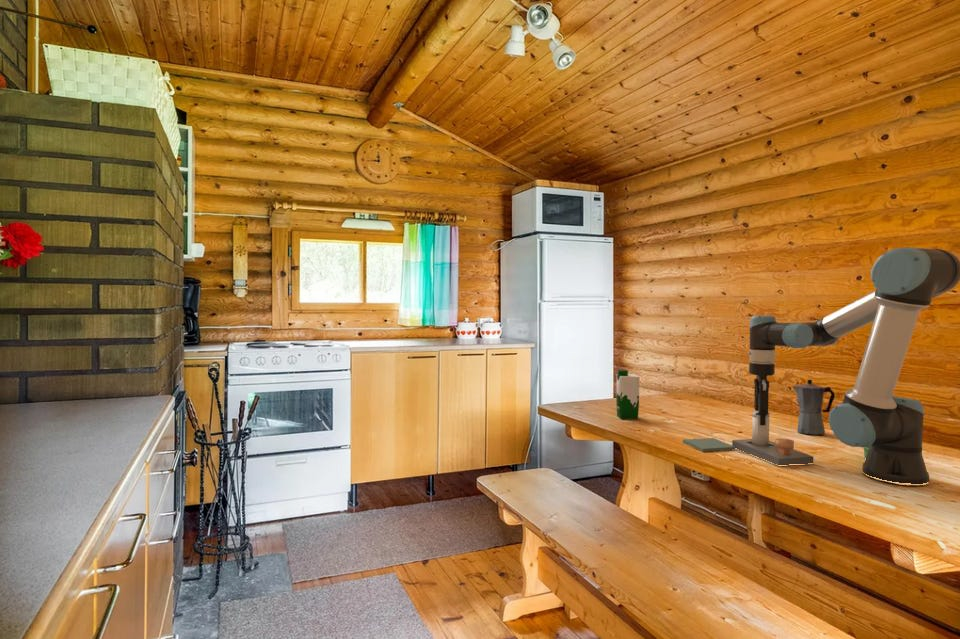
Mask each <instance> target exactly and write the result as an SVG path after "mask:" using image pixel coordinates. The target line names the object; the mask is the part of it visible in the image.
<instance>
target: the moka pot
mask: <svg viewBox="0 0 960 639" xmlns="http://www.w3.org/2000/svg"><path fill="white" fill-rule="evenodd" d="M792 388H793V389H794V391H795V393H796V398H797V404H798V408H799V409H798V410H799V414H798V422H797V433H799V432H800V434H805V435H815V436H816V435H817V436H818V435H819V436H820V435H825V433H826V430H825V426H824V424H825V423H824V419H823V414H822V412H823V413H830V412H831V409H832V406H833V402H834V400H835V396H836V394H835V392H834V391H833V389H832V388H830V386H827V387H825V386H821V385H816V384H813V380H812V379H807V383H806V384H797V385H796V384H795V385H793V386H792ZM825 393H830V397H829V400H828V403H827V407H826V409H822V408H823V403H824V395H825Z"/></svg>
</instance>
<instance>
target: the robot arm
mask: <svg viewBox="0 0 960 639" xmlns="http://www.w3.org/2000/svg"><path fill="white" fill-rule="evenodd" d="M870 271H871V272H870V280H871V282H872V283H873V286H874V287H875V290H874V291H871V292H870V293H868V294H866V295H864V296H863V297H860V298H859V299H856V300H854V301H852V302H851V303H849V304H847V305H845V306H842V307H841V308H839V309H837V310H835V311H833V312H831V313H829V314H828V315H825V316H824V317H822V318H820V319H818V320H816V321H811V322H810V321H809V322H777V320H776V319H777V318H776V316H775V315H752V316H751V317H750V321H749V328H748V330H749V351H748V352H747V355H748V356H749V361H750V362H749V364H748V373H749V374H751V375H753V376H756V378H754V379H753V383H754V384H753V385H754V397H753V398H754V403H753V404H754V405H753V407H754V411H758V413H756V415H757V435H767V415H768V413H770V412H769V391H770V390H769V389H770V380H768V376H774V375H775V370H776V368H775V367H776V366H775V365H776V364H774V363H775V362H776V346H777V347H784V348H785V347H787V348H792V349H805V348H807V347H818V346H819V347H827V346H831V345H834V344H836V343H837V342H838V341H839V340H840V339H841V337H843V336H845V335H847V334H849V333H852V332H854V331H856V330H858V329H860V328H864V327H865V326H867V325H869V324H871V323H873V324H872V326H871V330H870V332H869V336H868V340H867V343H866V346H865V349H864V352H863V356H862V361H861V364H860V367H859V370H858V373H857V377H856V380H855V383H854V386H853V387H851V388H850V389H847V390H845V392H844V397H843V400H842V403H838V404H837V405H836V406H834V407H833V408H831V409H830V411H829V413H828V414H829V415H828V424H829V427H830V430H831V431H832V432H833V435H834V436H835V438H837V440H838V441H839V442H841V443H842V444H844V445H846V446H849V447H852V448H863V447H868V446H870V450H869V452H868V454H867V457H866V460H865V459H864V460H865V461H864V462H863V464H862V466H861V467H862V471H863V472H864V473H865V474H867V475H869V476H872V477H876V478H879V479H882V480H887V481H892V482H899V483H911V484H923V483H927V482H929V483H930V474H929V472H928V470H927V466H926V463H925V458H924V457H923V438H924V437H923V435H924V434H923V433H924V417H925V413H924V406H923V405H924V404H923V403H922V402H921V401H920V400H917V399H915V398H908V397H901V396H895V395H894V392H895V390H896V386H897V383H898V380H899V378H900V374H901V372H902V371H901V370H902V367H903V365H904V361H905V360H906V359H905V358H906V355H907V353H908V349H909V346H910V343H911V340H912V336H913V334H914V331H915V328H916V325H917V321H918V318H919V315H920V312H921V311H922V310H924V309H927V308H928V307H930V306H931V302H932V301H933V299H935V298H937V297H939V296H941V295H943V294H946V293H947V292H950V291H951V290H953V289H954V288H955V287H956V286H957V285H958V284H959V283H960V258H958V257H957V256H956V255H955V254H954V253H952V252H950V251H948V250H945V249H942V248H924V247H911V246H907V247H906V246H905V247H898V248H893V249H890V250H888V251H886V252H884V253H883V254H881V255H880V256H879V257H878V258H876V260H875V262H874V263H873V266H872V268H871V270H870Z"/></svg>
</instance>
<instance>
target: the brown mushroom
mask: <svg viewBox="0 0 960 639" xmlns="http://www.w3.org/2000/svg"><path fill="white" fill-rule="evenodd" d="M775 446H776V447H778V453H780V454H783V455H788V454H791V449H795V447H794V446H795V441H794V440H792V439H790V438H789V439H788V438H781V437H780V438H776V439H775Z"/></svg>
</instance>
